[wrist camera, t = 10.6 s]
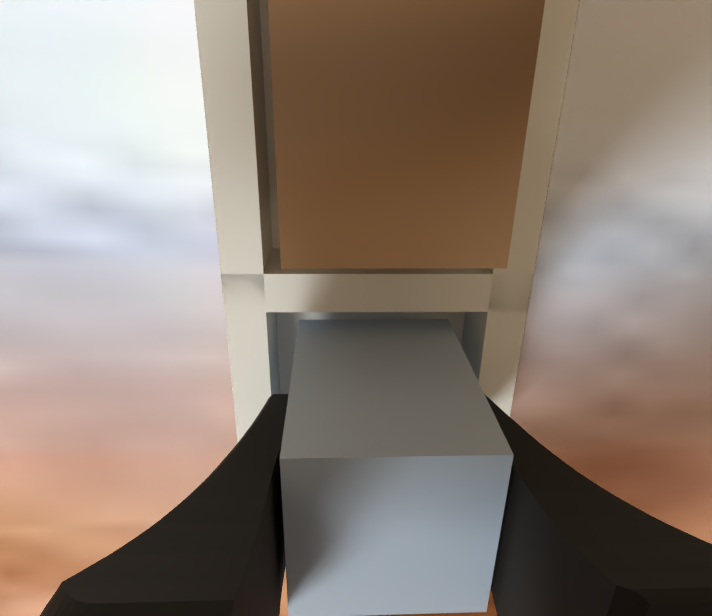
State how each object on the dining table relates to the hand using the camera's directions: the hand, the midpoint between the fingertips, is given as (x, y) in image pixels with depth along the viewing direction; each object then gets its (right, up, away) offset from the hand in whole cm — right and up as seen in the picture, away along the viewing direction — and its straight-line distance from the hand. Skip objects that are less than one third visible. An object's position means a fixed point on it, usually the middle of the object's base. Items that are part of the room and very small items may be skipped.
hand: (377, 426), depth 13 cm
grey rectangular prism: (0, +1, +2) cm, 2 cm away
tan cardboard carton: (0, +8, -1) cm, 9 cm away
